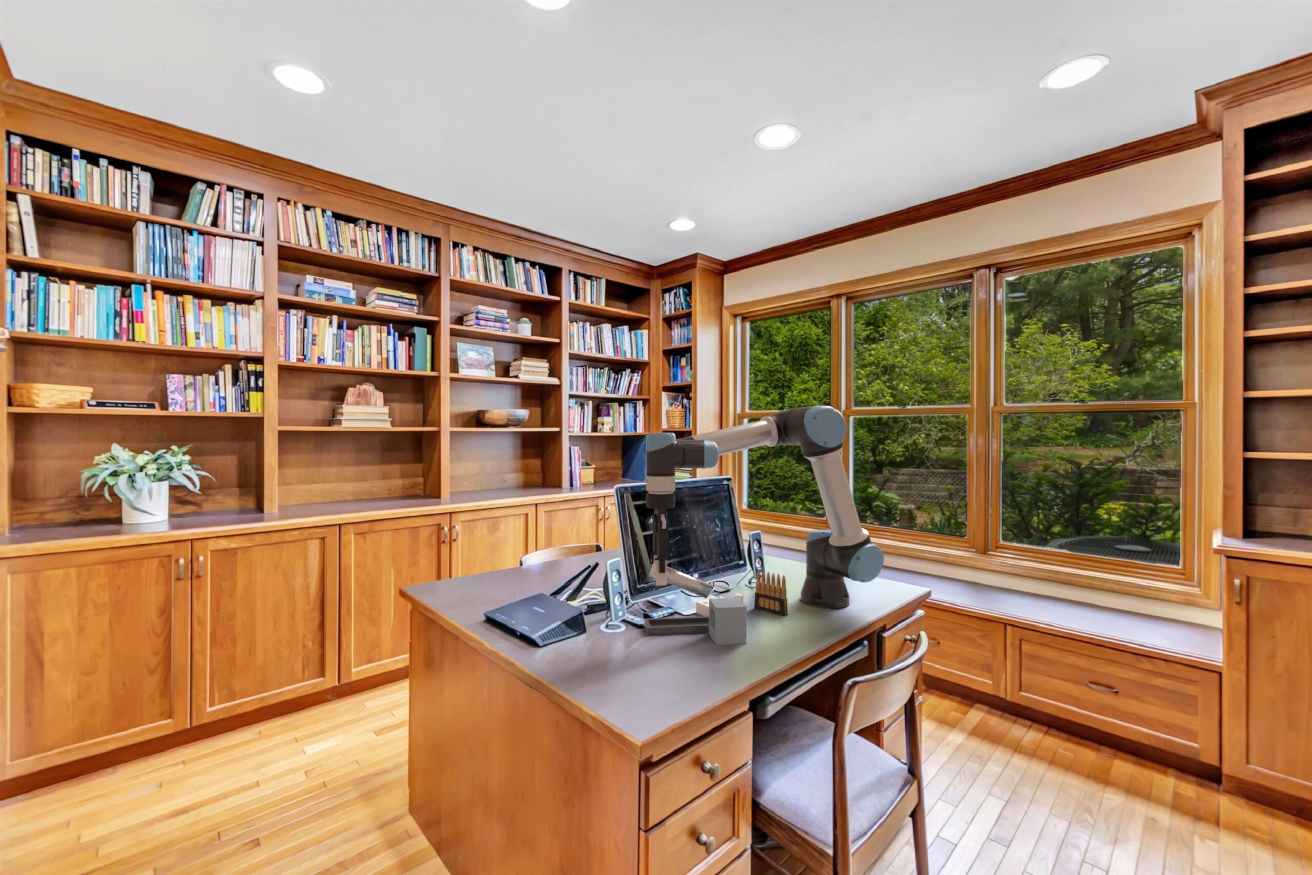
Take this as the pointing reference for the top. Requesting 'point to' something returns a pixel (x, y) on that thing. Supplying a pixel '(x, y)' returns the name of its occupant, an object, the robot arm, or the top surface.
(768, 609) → the ammunition clip
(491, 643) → the top surface
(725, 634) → the gray rectangular block
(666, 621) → the dark brown shallow tray
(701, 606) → the bracket
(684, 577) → the axle
